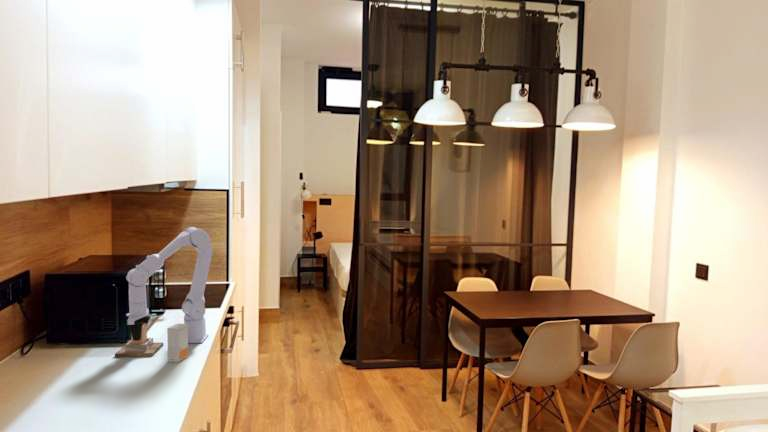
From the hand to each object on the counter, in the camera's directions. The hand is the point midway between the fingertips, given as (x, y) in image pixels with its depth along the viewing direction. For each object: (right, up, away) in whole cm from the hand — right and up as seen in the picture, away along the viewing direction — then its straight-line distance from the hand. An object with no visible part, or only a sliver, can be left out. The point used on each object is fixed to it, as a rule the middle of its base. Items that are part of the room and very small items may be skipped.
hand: (139, 338), depth 188 cm
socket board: (0, -5, 0) cm, 5 cm away
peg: (0, -3, 0) cm, 3 cm away
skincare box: (+17, -6, -7) cm, 19 cm away
